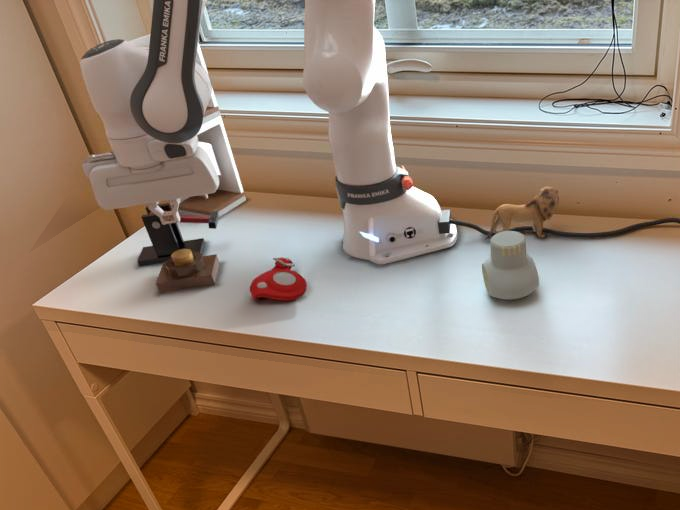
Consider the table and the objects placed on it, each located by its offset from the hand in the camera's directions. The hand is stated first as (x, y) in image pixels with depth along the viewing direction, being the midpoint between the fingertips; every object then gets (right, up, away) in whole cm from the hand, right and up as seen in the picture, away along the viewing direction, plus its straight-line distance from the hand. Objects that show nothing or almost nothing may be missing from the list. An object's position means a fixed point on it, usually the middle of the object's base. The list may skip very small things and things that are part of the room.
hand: (171, 222), depth 125 cm
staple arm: (-3, +2, +12) cm, 12 cm away
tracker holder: (+20, -12, +2) cm, 23 cm away
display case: (-5, +10, +32) cm, 34 cm away
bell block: (+1, -9, +7) cm, 12 cm away
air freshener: (+60, -13, -4) cm, 62 cm away
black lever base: (-6, -3, +15) cm, 17 cm away
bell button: (0, -6, +5) cm, 8 cm away
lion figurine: (+64, 0, +11) cm, 65 cm away
